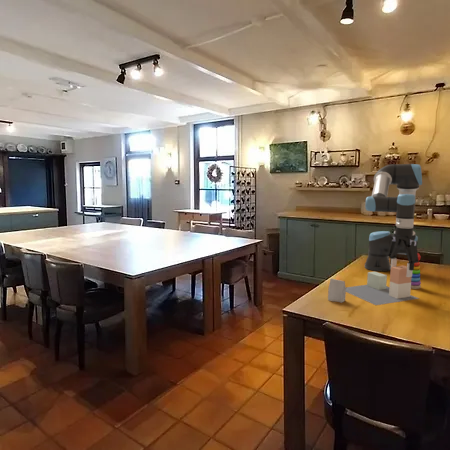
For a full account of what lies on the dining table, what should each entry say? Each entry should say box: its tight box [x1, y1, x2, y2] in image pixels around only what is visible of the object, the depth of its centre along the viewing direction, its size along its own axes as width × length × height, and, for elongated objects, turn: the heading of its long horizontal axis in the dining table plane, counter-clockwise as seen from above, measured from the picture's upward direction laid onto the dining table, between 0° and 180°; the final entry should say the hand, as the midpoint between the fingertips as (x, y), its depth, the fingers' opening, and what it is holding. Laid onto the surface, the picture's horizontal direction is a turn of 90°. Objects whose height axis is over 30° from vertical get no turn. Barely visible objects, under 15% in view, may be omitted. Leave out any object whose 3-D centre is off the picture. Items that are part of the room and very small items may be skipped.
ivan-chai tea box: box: [327, 278, 347, 303], centre depth 169 cm, size 4×7×10 cm, turn 49°
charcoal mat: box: [345, 284, 420, 306], centre depth 179 cm, size 26×26×1 cm
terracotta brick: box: [389, 265, 411, 284], centre depth 174 cm, size 8×5×7 cm, turn 111°
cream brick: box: [389, 280, 412, 299], centre depth 175 cm, size 8×5×7 cm, turn 111°
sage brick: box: [366, 271, 388, 290], centre depth 188 cm, size 8×5×7 cm, turn 21°
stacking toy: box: [411, 252, 422, 290], centre depth 189 cm, size 8×8×19 cm
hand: (401, 274), depth 174 cm, fingers open, 9 cm apart
